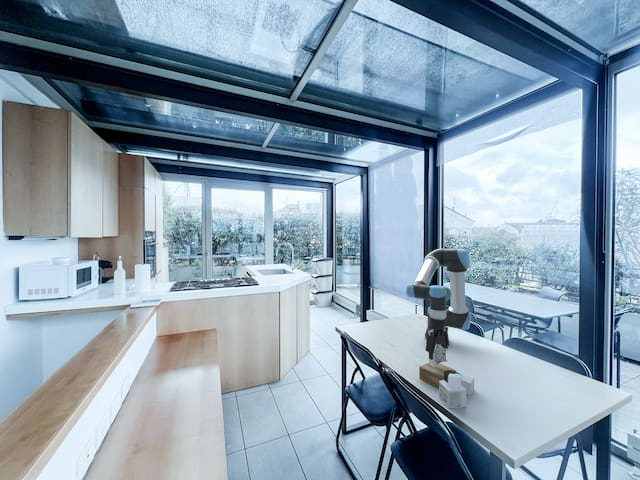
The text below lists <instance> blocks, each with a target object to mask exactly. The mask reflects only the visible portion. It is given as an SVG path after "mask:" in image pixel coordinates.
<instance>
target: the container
mask: <svg viewBox="0 0 640 480" xmlns="http://www.w3.org/2000/svg"><path fill="white" fill-rule="evenodd" d="M460 374H461V373H460V372H458V371H457V370H456V371H453V370H446V371H445V372H444V380H441V381H439V389H438V397H439V399H440V400H441V401H442V402H443V404H445V406H446V407H447V409H463V408H462V407H466V408H467V395H466V389H465V388H464V387H463V386H462V385H461V375H460Z"/></svg>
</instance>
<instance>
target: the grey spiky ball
mask: <svg viewBox="0 0 640 480" xmlns="http://www.w3.org/2000/svg"><path fill="white" fill-rule="evenodd" d="M440 347H441V346H440V344H437V346H435V350H434V353H435V362H436V363H437V365H438V363H440V364H441V363H443V362H444V361H446V362H447V363H448V360H447V355H446V356H445V351H446V352H447V349H446V350H445V351H444V350H443V349H441V348H440ZM446 362H445V363H446Z"/></svg>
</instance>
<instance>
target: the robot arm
mask: <svg viewBox="0 0 640 480" xmlns="http://www.w3.org/2000/svg"><path fill="white" fill-rule="evenodd" d="M470 264H471V260H470V254H469V252H468V250H466V249H464V248H463V249H462V248H437V249H434V250H433V251H431V252H430V253H428V254H427V255H426V256H425V257H424V260H423V265H422V267H421V268H420V271H419V273H418V274H417V277H416V278H415V280H414V282H413V283H408V284H407V286H406V287H405V288H406V289H405V291H406V292H405V293H406V296H407V297H408V298H413V299H419V300H428V301H429V306H428V308H427V313H426V314H427V328H426V330H425V333H424V339H425V340H426V343H425V344H426V345H425V351H426V352H427V353H428V363H429V365H431V366H433V367H435V353H434V350H435V347H437V346H436V345H437V344H439V345H440V346H439V347H440V348H441V349H443V350H444V351H445V350H446V351H445V356H446V357H447V350H449V346H450V341H449V332H448V331H449V328H451V329H452V328H453V329H459V330H464V331H468V330H469V329H470V326H471V320H472V312H470V311H469V308H468V307H467V306H466V283H465V282H466V280H465V279H466V277H465V276H466V275H465V273H466V272H468V269H469V268H470V267H471V265H470ZM439 267H442V268H444V267H445V268H446V271H447V272H448V273H449V287H447V286H446V285H445V286H443V285H439V284H438V285H430V283H431V281H432V279H433V276H434V275H435V272H436V270H437V269H438V268H439ZM449 300H450V306H449V307H448V308H447V302H448V301H449ZM443 362H444V363H446V361H443Z"/></svg>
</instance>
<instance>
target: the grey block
mask: <svg viewBox="0 0 640 480" xmlns="http://www.w3.org/2000/svg"><path fill="white" fill-rule="evenodd" d="M459 374H460V375H461V385H462V386H463V387H464V388H465V389H466V396H469V397H472V394H473V393H474V392H475V378H474V377H472V376H470V375H466V374H463V373H459Z"/></svg>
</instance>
